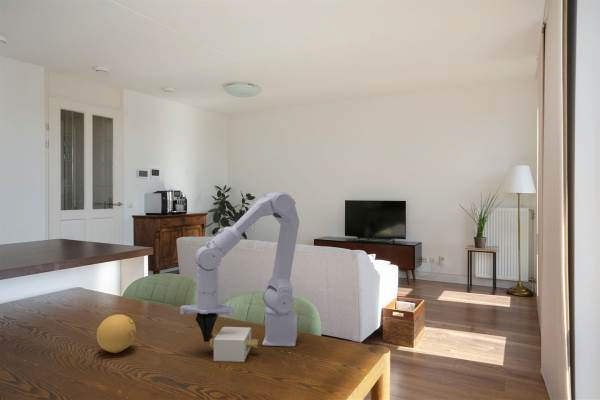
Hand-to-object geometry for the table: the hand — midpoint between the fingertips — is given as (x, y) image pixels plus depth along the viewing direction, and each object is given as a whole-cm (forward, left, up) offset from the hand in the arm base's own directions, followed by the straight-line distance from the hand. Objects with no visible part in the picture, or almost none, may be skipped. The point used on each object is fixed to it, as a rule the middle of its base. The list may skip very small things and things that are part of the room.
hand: (207, 340), depth 111 cm
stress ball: (+25, +1, -4) cm, 25 cm away
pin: (-7, 0, -2) cm, 8 cm away
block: (-7, 0, -3) cm, 8 cm away
